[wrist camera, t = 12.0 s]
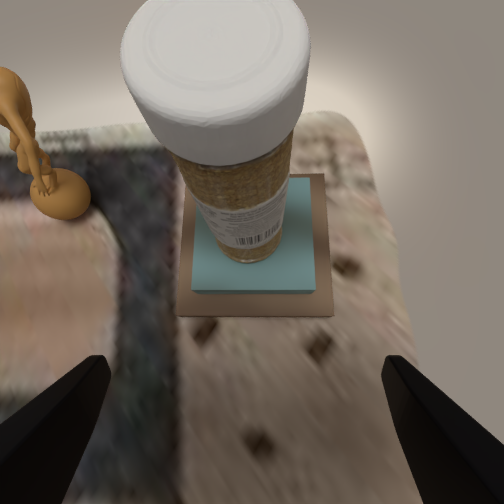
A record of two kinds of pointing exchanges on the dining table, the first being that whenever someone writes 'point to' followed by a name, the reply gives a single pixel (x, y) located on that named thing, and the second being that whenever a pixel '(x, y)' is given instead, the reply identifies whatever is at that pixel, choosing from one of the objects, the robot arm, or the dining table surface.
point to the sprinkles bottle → (224, 106)
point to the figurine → (38, 155)
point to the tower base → (261, 301)
